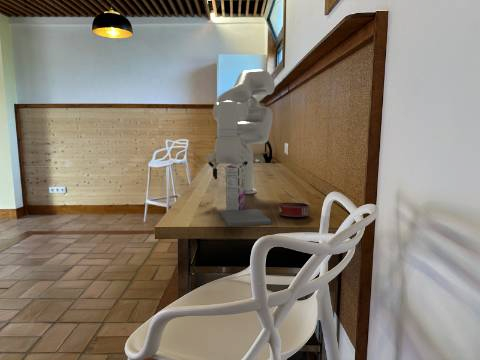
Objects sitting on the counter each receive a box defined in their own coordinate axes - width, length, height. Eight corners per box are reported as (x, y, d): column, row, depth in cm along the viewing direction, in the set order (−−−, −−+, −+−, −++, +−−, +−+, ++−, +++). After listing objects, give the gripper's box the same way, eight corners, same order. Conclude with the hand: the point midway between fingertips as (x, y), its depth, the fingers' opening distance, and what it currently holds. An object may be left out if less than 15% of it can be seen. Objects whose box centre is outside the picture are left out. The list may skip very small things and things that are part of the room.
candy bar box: (232, 206, 124) (232, 163, 122) (245, 207, 123) (245, 163, 121) (225, 213, 113) (225, 166, 111) (239, 214, 112) (239, 166, 110)
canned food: (286, 224, 114) (290, 197, 117) (313, 225, 108) (317, 196, 111) (269, 213, 106) (274, 184, 109) (297, 213, 100) (302, 182, 103)
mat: (220, 213, 112) (220, 210, 112) (257, 211, 114) (257, 208, 114) (228, 226, 96) (228, 222, 96) (271, 223, 99) (271, 220, 99)
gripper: (247, 134, 132) (247, 177, 134) (204, 134, 129) (204, 177, 131) (252, 134, 125) (251, 179, 127) (206, 134, 121) (206, 180, 124)
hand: (227, 178), depth 129 cm, fingers open, 9 cm apart
